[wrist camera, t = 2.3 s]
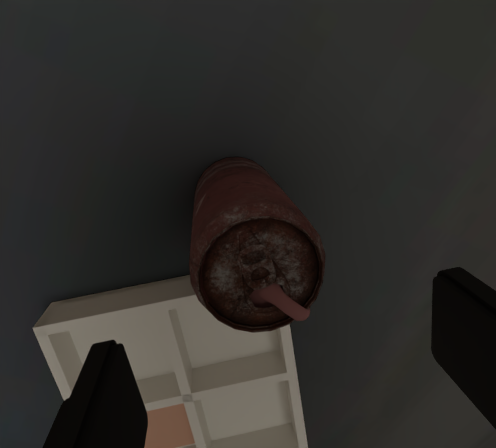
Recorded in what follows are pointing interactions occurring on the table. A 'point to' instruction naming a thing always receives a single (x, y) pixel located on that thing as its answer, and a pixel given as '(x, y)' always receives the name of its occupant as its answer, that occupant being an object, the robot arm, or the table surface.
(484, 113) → the table surface
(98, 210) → the table surface
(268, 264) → the can
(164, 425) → the divided tray
